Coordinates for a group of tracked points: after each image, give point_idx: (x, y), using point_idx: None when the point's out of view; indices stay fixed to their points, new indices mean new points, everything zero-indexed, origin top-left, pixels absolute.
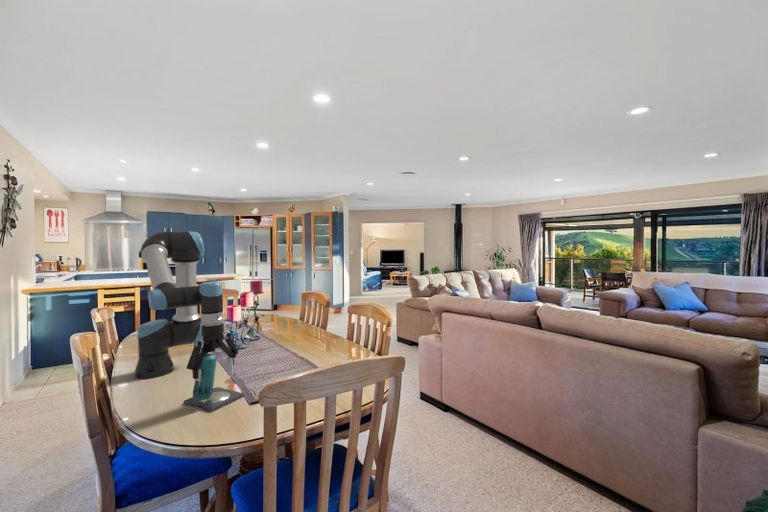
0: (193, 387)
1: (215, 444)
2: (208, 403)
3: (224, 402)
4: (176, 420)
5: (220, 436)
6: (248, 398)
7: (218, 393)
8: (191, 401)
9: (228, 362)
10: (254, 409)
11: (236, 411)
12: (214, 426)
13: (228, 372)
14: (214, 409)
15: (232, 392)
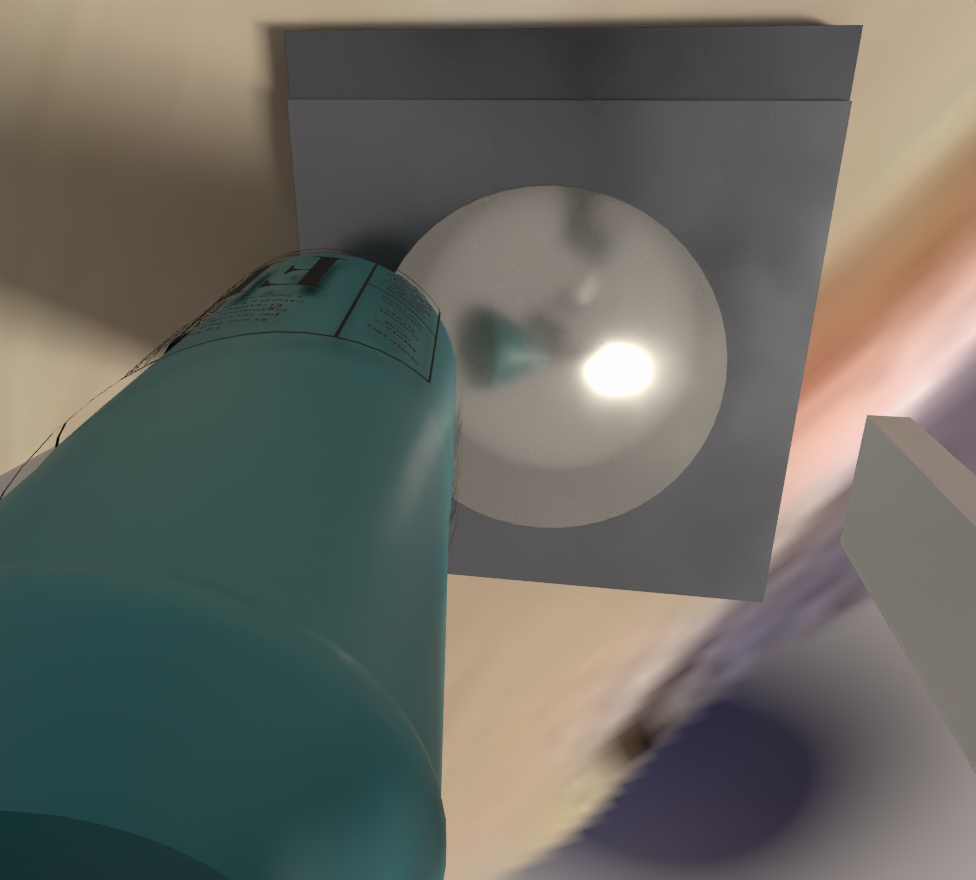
0: (182, 338)
1: None
2: None
3: (483, 573)
4: (65, 375)
5: None
6: (729, 649)
7: (647, 306)
8: (318, 179)
9: (968, 613)
10: (551, 826)
11: (455, 724)
12: None
13: (871, 473)
14: None
15: (743, 452)
